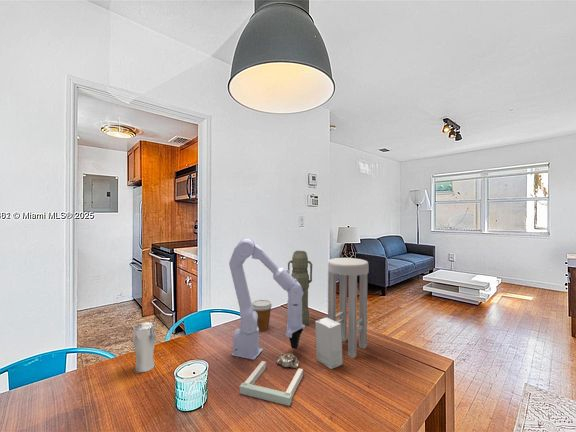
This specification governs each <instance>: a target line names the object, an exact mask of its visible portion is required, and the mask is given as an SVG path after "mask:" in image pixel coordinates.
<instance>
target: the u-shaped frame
mask: <svg viewBox="0 0 576 432" xmlns="http://www.w3.org/2000/svg"><path fill="white" fill-rule="evenodd" d="M266 369H267V361H264V360H261V361H260V363H259V364H258V365H257V367H255V369H254V370H253V371H252V372H251V374H250V375H249V376H248V377H247V379H245V381H244V382H241V384H240V385H239V394H240V395H244V396H249V397H252V398H257V399H260V400H264V401H267V402H268V401H269V402H272V403H277V404H281V405H284V406H288V407H290V406H291V405H292V402H293V397H294V395H295V392H296V390H297V389H298V387H299V385H300V382H301V380H302V379H303V376H304V369H303V368H297V370H296V372H295V374H294V376H293V378H292V380H291V381H290V384H289V385H288V387H287V388H286V391H281V390H276V389H272V388H269V387H265V386H259V385H255V383H256V382H257V380H258V379H259V378H260V376H261V375H262V373H264V371H265V370H266Z"/></svg>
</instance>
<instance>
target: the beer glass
mask: <svg viewBox="0 0 576 432" xmlns="http://www.w3.org/2000/svg"><path fill="white" fill-rule="evenodd" d="M156 339H157V338H156V323H155V322H153V321H143V322H138V323H137V324H135V325H134V326H133V333H132V342H133V351H134V353H135V358H136V360H135V361H136V362H135V366H134V371H135V372H136V373H140V374H141V373H142V372H143V373H146V372H148V371H151V370H153V369H154V368H155V360H154V351H155V346H156ZM143 373H142V374H143Z"/></svg>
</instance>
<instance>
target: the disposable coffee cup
mask: <svg viewBox="0 0 576 432" xmlns="http://www.w3.org/2000/svg"><path fill="white" fill-rule="evenodd" d="M251 303H252V305H253V308H254V310H255V311H256V312H257V314H258V319H257V326H258V328H259V332H264V331H265V332H266V331H267V330H269V326H270V318H271V311H272V306H273V305H272V301H270V300H269V299H268V300H267V299H258V300H254V301H252V302H251Z"/></svg>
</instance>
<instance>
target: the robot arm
mask: <svg viewBox="0 0 576 432" xmlns="http://www.w3.org/2000/svg"><path fill="white" fill-rule="evenodd" d="M250 257H251V259H253V260H259V261H260V262H261V263H262V264H263V265H264V267H266V268H267V269H268V270H269V271H270V272H271V273H272V278H273V280H274V281H275V282H276V283H277V284H278V286H280V287H281V288H282V289H283V290H284V291H286V292H287V308H286V309H287V312H286V313H287V314H286V315H287V317H286V318H287V321H286V330H285V337H286V338H288V339H289V342H290V347H291V349H293V350H294V349H295V350H297V349H298V348H299V343H300V339H301V335H302V332H303V331H304V329H305V327H306V326H305V325H303V324H302V296H303V290H302V287H301V285H300V284H299V282H298V281H297V280H296V279H294V278H293V277H292V276H291V273H290V274H289V270H288V268H286V269H285V268H284V267H280V266H278V265H277V263H276V262H274V260H273V259H272V258H271V257H270V256H269V254H268V253H267V252H266V251H265V250H264V248H262V247H261V246H260V245H259V244H257V243H256V242H255V241H254V240H253V239H252V238H251V237H250V238H249V237H245V238H242V239H240V241H239V242H238V243H237V244H236V246H235V247H234V249H233V251H232V254H231V257H230V259H229V262H228V266H229V269H230V273H231V274H230V275H231V278H232V282H233V286H234V290H235V294H236V298H237V303H238V308H239V315H240V325H239V328H236V329H235V330H234V332H233V336H232V353H231V356H235V357H238V358H239V357H240V358H243V359H248V360H256V358H257V357H258V356H259V355H260V353H261V352H263V350H264V348H262V347H260V337H259V336H260V331H259V328H258V326H257V319H258V314H257V312H256V311H255V310H254V308H253V305H252V303H253V302H252V299H251V294H250V291H249V286H248V283H247V278H246V274H245V270H244V265H243V264H244V263H245V262H246V260H247V259H248V258H250Z"/></svg>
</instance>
